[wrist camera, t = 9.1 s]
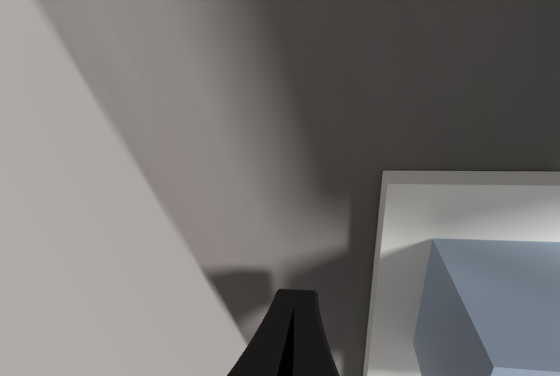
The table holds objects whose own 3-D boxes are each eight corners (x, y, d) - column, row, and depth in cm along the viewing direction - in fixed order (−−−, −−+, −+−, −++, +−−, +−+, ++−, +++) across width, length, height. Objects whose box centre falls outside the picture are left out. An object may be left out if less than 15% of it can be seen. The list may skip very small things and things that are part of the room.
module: (538, 352, 12) (641, 515, 8) (412, 343, 13) (451, 491, 9) (587, 242, 10) (761, 394, 6) (432, 238, 11) (496, 372, 7)
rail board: (604, 415, 15) (668, 508, 12) (361, 392, 16) (368, 470, 14) (766, 172, 10) (951, 237, 7) (382, 170, 11) (402, 223, 8)
